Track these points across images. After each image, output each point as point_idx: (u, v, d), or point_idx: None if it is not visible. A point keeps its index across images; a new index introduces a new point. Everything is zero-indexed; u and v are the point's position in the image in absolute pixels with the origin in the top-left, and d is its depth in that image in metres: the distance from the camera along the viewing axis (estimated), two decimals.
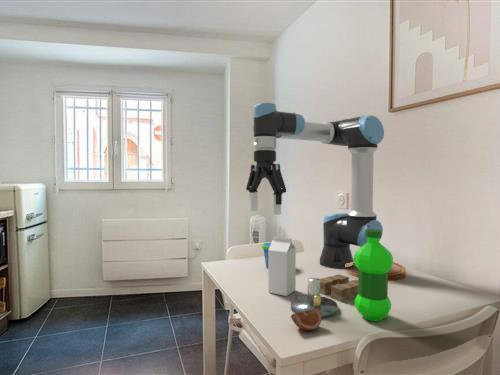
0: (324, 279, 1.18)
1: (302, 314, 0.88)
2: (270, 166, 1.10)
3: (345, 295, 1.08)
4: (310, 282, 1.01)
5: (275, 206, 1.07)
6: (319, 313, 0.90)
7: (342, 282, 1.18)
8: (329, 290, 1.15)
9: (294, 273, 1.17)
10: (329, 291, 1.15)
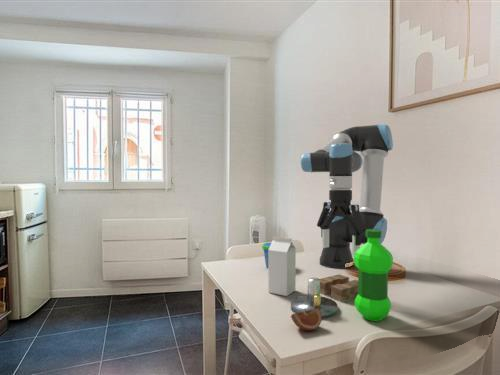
0: (324, 279, 1.18)
1: (302, 314, 0.88)
2: (348, 206, 1.10)
3: (345, 295, 1.08)
4: (310, 282, 1.01)
5: (355, 247, 1.08)
6: (319, 313, 0.90)
7: (342, 282, 1.18)
8: (329, 290, 1.15)
9: (294, 273, 1.17)
10: (329, 291, 1.15)
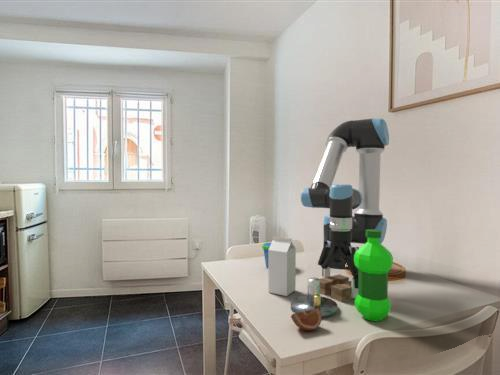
0: (324, 279, 1.18)
1: (302, 314, 0.88)
2: (348, 248, 1.11)
3: (345, 295, 1.08)
4: (310, 282, 1.01)
5: (354, 289, 1.09)
6: (319, 313, 0.90)
7: (342, 282, 1.18)
8: (329, 290, 1.15)
9: (294, 273, 1.17)
10: (329, 291, 1.15)
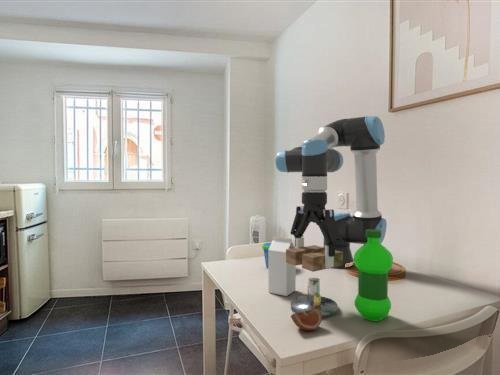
0: (296, 249, 1.04)
1: (302, 314, 0.88)
2: (322, 211, 0.97)
3: (317, 264, 0.94)
4: (310, 282, 1.01)
5: (328, 258, 0.95)
6: (319, 313, 0.90)
7: (317, 252, 1.04)
8: (301, 260, 1.01)
9: (294, 273, 1.17)
10: (301, 262, 1.01)
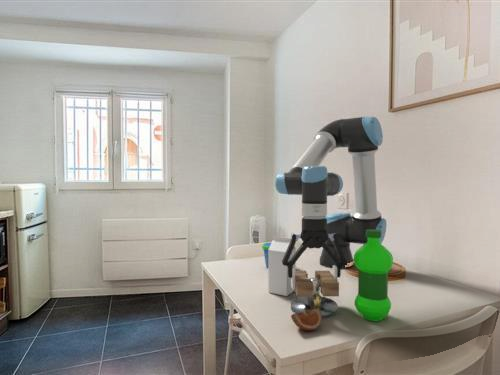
0: (300, 279, 0.99)
1: (302, 314, 0.88)
2: (328, 236, 1.01)
3: None
4: None
5: None
6: (319, 313, 0.90)
7: (307, 277, 1.05)
8: None
9: None
10: None
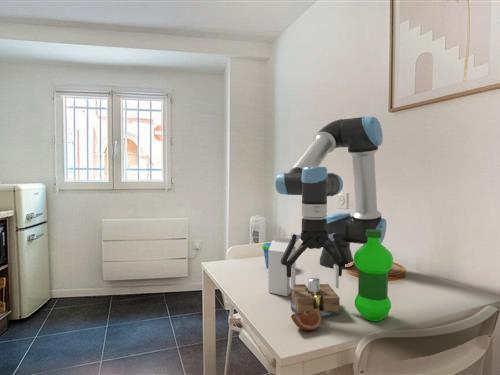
0: (301, 294, 0.99)
1: (302, 314, 0.88)
2: (328, 236, 1.01)
3: None
4: (310, 282, 1.01)
5: None
6: (319, 313, 0.90)
7: (307, 291, 1.05)
8: None
9: (294, 273, 1.17)
10: None
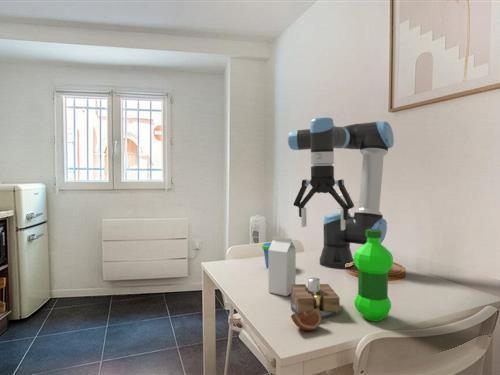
0: (301, 294, 0.99)
1: (302, 314, 0.88)
2: (334, 182, 1.09)
3: None
4: (310, 282, 1.01)
5: (343, 221, 1.09)
6: (319, 313, 0.90)
7: (307, 291, 1.05)
8: None
9: (294, 273, 1.17)
10: None
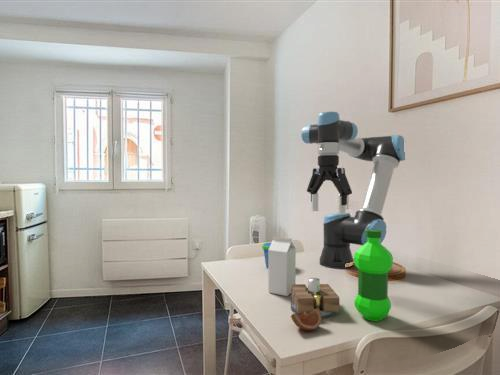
0: (301, 294, 0.99)
1: (302, 314, 0.88)
2: (335, 170, 1.19)
3: None
4: (310, 282, 1.01)
5: (341, 207, 1.17)
6: (319, 313, 0.90)
7: (307, 291, 1.05)
8: None
9: (294, 273, 1.17)
10: None
